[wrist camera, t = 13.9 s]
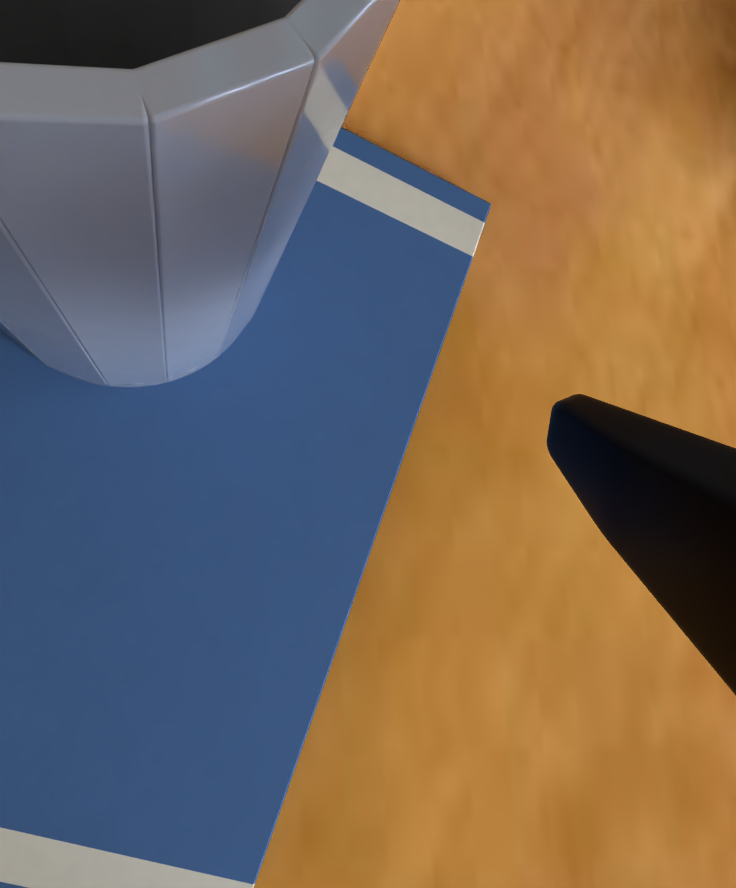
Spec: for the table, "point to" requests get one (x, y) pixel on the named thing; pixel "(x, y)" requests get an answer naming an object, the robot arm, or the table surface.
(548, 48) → the table surface
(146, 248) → the tumbler
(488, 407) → the table surface
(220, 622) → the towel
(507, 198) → the table surface
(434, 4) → the table surface
